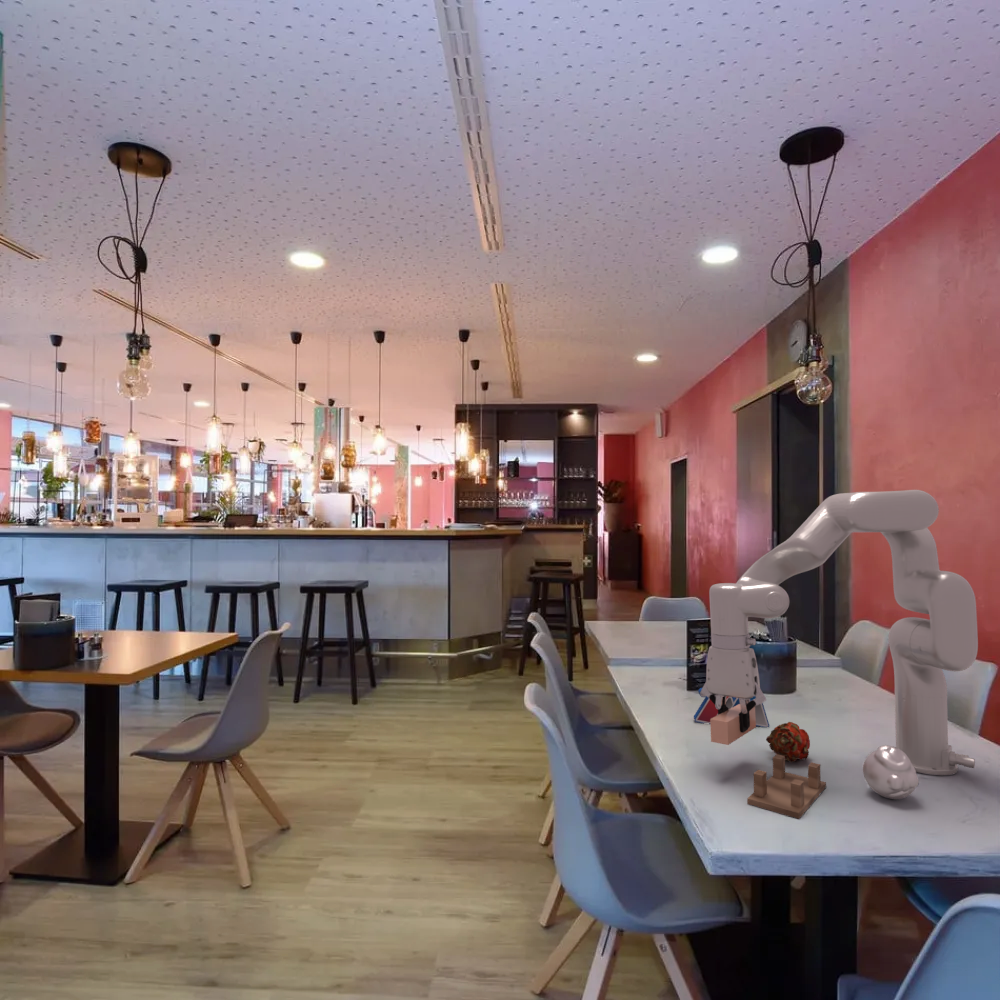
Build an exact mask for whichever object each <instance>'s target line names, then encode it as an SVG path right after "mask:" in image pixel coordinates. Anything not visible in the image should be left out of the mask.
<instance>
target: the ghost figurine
mask: <svg viewBox="0 0 1000 1000" xmlns="http://www.w3.org/2000/svg"><path fill="white" fill-rule="evenodd" d="M862 773H863V777H864V780H865V782H866V784H867V785H868V787H870V788H871V789H872V791H873V792H875V793H876V794H877V795H880V796H882V797H884V798H885V799H889V800H890V799H891V800H901V799H905V798H907V797H909V796H910V795H912V794H913V792H915V789H916V788H917V787H918V785H919V778H918V775H917V772H916V771H915V768H914V766H913V765H912V763H911V761H910V759H909V758H908V756H907V755H906V754H905V753H904V752H903V751H902V750H900V749H899V748H897V747H896V746H893V745H886V744H885V745H880V746H878V748H877V749H876V750H873V751H871V752H870V753H869V754H868V755H867V756H866V757H865V759H864V761H863V764H862Z"/></svg>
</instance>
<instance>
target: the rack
mask: <svg viewBox="0 0 1000 1000" xmlns="http://www.w3.org/2000/svg"><path fill="white" fill-rule="evenodd" d="M767 773H768V772H767V771H764V770H761V769H756V771H754V772H753V792H752V794H750V796H748V797H747V799H746V802H747V805H750V806H753V805H754V806H753V807H756V806H757V808H761V809H763V810H767V811H769V812H770V811H771V812H773V813H777V814H780V815H785V816H788V817H791V818H794V817H795V819H798V820H800V818H801V817H803V815H804V814H805V813H806V812H807V811H808V809H809V808H810V807H811V806H812V805H813V803H814V802H815V801H816V800H817V799H818V797H820V795H821V794H822V793H823V792H824V791H825V789H826V788H827V782H826V781H822V780H821V764H819V763H816V762H812V761H811V762H810V763H809V764H808V766H807V774H808V775H807V776H803V775H800V774H799V775H798V774H795V773H791V772H786V760H785V756H782V755H778V754H776V753H775V754H774V755H773V757H772V776H770V777H769V778H768V779H767V777H768V776H767V775H768V774H767ZM825 787H826V788H825ZM824 788H825V789H824ZM822 791H823V792H822ZM821 792H822V793H821ZM820 793H821V794H820ZM819 794H820V795H819ZM816 798H817V799H816ZM815 799H816V800H815ZM814 800H815V801H814ZM810 805H811V806H810ZM804 812H805V813H804Z"/></svg>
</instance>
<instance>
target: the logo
mask: <svg viewBox="0 0 1000 1000" xmlns="http://www.w3.org/2000/svg"><path fill="white" fill-rule="evenodd" d="M702 688H703V687H699V689H698V690H697V691H698V692H697V693H698V694H699V696H700V697H701V698H704V699H703V701H702V702H701V704H700V705H699V707H698V709H697V710H696V712H695V714H694V715H693V719H694V722H695V723H698V724H699V723H700V724H704V723H709V724H708V725H710V719H711V718H713V717H715V716H717V715H718V709H717V708H716V707H715V704H714V703H713V702H712V701H711V700H710V698H709V697H707V696H705V695H704V694H703V693H702V692H701V690H702ZM753 699H756V696H755V695H754V696H753V698H750V701H752V700H753ZM738 704H740V701H739V698H736V697H729V696H726V707H728V710H729V709H731V708H732V707H734V706H736V705H738ZM755 717H756V727H759V726H760V727H759V728H767V727H769V728H770V723H769V719H768V716H767V713H766V710H765V706H764V702H763V703H761V704H759V705H756V706H755Z"/></svg>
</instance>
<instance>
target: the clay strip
mask: <svg viewBox="0 0 1000 1000" xmlns="http://www.w3.org/2000/svg"><path fill="white" fill-rule="evenodd" d="M740 712H741V707H740V704H738V705H736V706H734V707H732V708H731V709H729V710H727V711H725V712H723V713H721V714H719V715H717V716H715V717H713V718H711V719H710V724H709V725H710V742H711V743H715V744H720V745H726V746H729V745H731V744H732V743H734V742H735V741H737V740H738V739H740V738H742V737H743V736H745V735H746V734H748V733H749V732H751V731H752V730H754V729H756V728H757V726H756V717H755V707H754V708H752V709H751V710H750V711H749V714H750V727H749V728H748V730H746V731H745V732H744V733H742V732H740V721H739V713H740Z"/></svg>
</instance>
